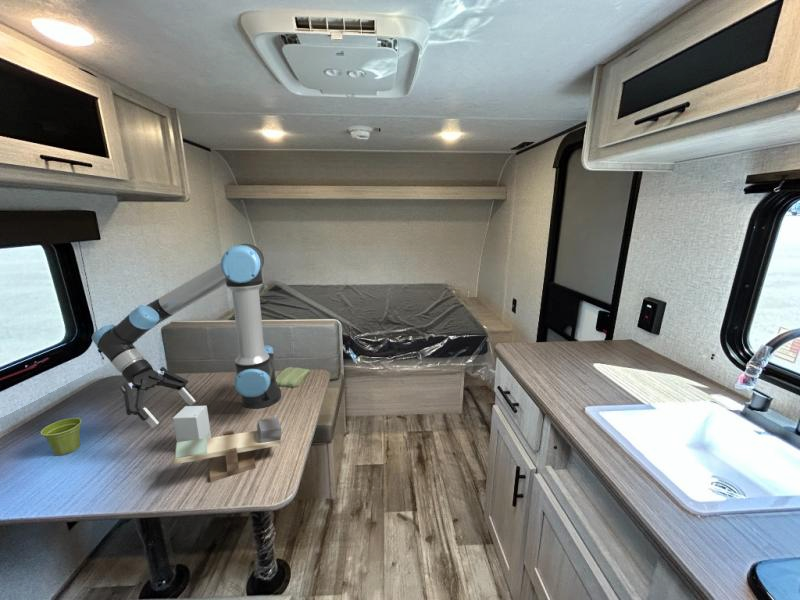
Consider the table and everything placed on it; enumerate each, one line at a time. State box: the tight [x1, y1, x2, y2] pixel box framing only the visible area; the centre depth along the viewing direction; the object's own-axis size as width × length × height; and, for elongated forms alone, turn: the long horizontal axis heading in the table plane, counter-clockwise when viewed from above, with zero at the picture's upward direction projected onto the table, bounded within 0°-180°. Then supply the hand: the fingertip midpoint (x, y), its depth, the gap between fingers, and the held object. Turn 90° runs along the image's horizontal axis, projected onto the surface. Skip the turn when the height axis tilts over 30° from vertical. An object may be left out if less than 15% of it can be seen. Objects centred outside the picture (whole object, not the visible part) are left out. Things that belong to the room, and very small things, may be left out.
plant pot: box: [40, 417, 83, 456], centre depth 110 cm, size 9×9×9 cm
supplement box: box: [172, 405, 212, 443], centre depth 112 cm, size 7×7×13 cm
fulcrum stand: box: [208, 429, 256, 483], centre depth 104 cm, size 12×11×8 cm
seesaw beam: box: [173, 416, 283, 465], centre depth 103 cm, size 28×8×6 cm, turn 120°
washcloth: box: [275, 366, 311, 389], centre depth 161 cm, size 13×18×3 cm
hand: (175, 414), depth 112 cm, fingers open, 13 cm apart
